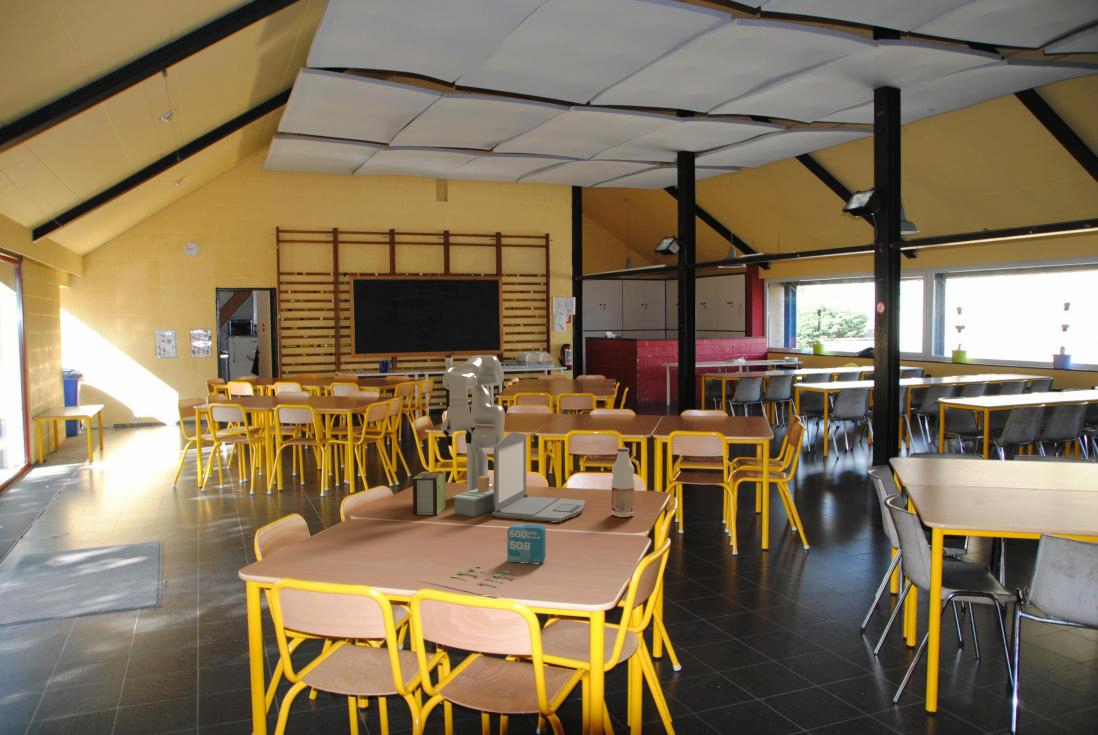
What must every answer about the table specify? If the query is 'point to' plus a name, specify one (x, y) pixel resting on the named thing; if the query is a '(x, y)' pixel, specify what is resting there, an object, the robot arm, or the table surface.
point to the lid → (477, 491)
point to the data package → (526, 543)
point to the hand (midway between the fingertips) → (458, 444)
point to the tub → (474, 507)
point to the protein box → (429, 493)
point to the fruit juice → (622, 484)
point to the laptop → (523, 487)
